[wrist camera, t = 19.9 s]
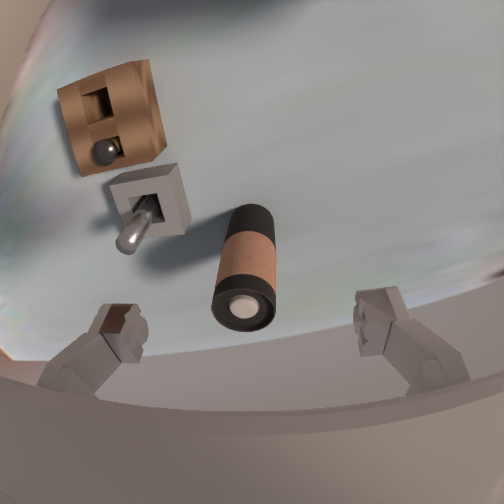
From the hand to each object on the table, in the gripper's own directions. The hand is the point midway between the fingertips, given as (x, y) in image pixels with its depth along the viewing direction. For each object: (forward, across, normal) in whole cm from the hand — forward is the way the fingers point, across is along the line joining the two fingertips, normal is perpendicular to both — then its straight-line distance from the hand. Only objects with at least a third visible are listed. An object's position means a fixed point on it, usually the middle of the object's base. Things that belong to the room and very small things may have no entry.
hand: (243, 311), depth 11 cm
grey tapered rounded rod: (+37, +19, +11) cm, 43 cm away
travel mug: (+37, +4, +18) cm, 42 cm away
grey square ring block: (+37, +19, +11) cm, 43 cm away
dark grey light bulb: (+36, +21, 0) cm, 42 cm away
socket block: (+37, +21, -4) cm, 43 cm away
